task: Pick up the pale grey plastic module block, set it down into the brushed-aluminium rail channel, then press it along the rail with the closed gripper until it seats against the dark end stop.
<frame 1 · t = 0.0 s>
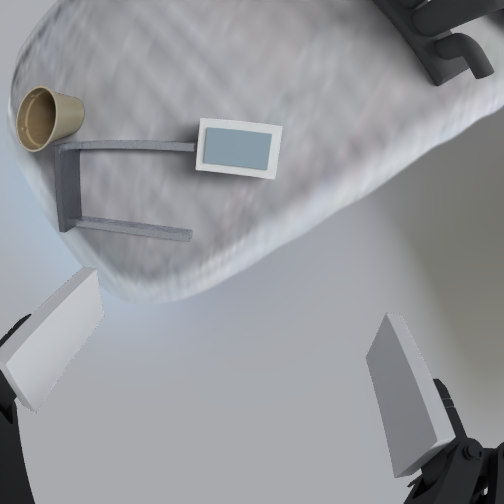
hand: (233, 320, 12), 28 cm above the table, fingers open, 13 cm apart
module: (243, 144, 36), on the table
faucet: (435, 20, 24), on the table
flower pot: (71, 115, 35), on the table
rail: (127, 185, 39), on the table
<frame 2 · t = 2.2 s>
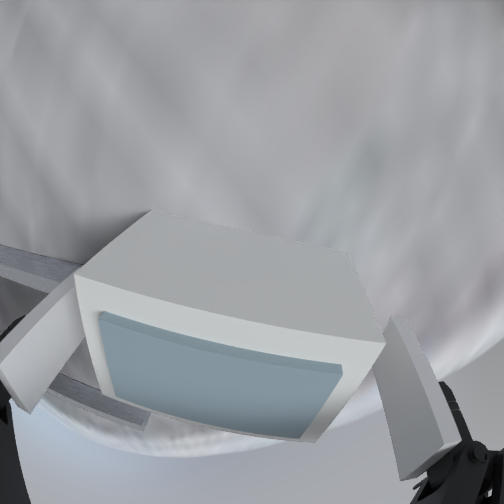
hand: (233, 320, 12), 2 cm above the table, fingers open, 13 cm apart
module: (237, 286, 14), on the table
rail: (28, 322, 17), on the table
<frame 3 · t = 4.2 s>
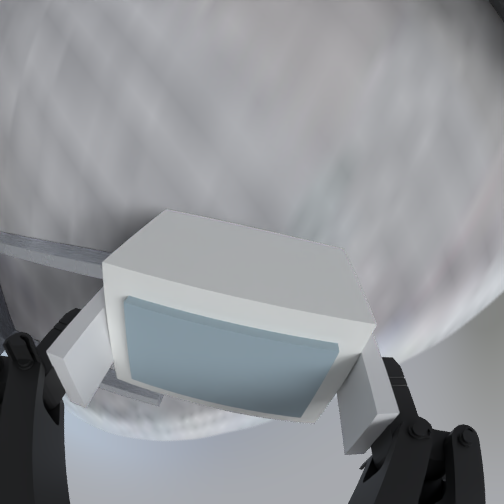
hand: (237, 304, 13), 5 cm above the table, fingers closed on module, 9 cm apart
module: (243, 280, 15), point 3 cm above the table, touching gripper
rail: (57, 309, 21), on the table
when the fingers open (1 cm above the table, at t = 9.3 s): module moves 3 cm, resting in rail.
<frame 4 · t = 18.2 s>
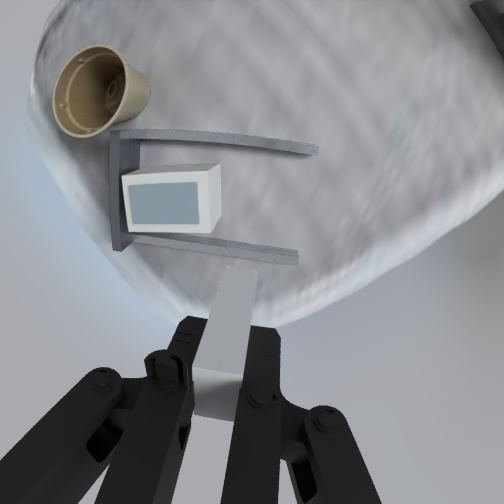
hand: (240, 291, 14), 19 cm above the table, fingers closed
module: (183, 189, 32), resting in rail
flower pot: (129, 94, 28), on the table
rail: (213, 191, 32), on the table
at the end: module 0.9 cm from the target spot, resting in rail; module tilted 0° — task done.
